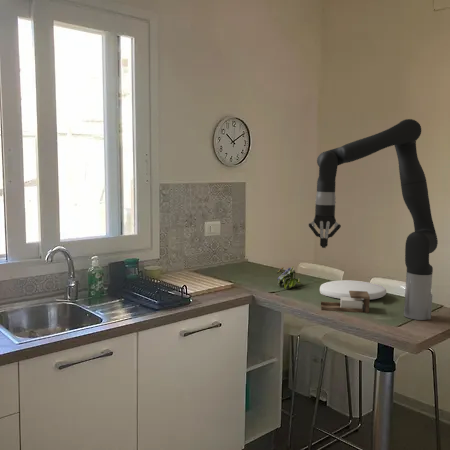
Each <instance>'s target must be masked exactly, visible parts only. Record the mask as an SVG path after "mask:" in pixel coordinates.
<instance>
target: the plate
mask: <svg viewBox="0 0 450 450" xmlns="http://www.w3.org/2000/svg"><path fill="white" fill-rule="evenodd" d="M349 291H366V292H368V294H369V296H370V300H376V299H380V298H383V297H384V296H386V294H387V288H386V287H385V286H383V285H380V284H377V283H373V282H368V281H361V280H350V279H344V280H333V281H327V282H324V283H322V284H320V286H319V293H320V295H322V296H326V297H329V298H333V299H334V298H335V299H340V300H341V297H351V296H350V293H349ZM362 301H364V299H362Z"/></svg>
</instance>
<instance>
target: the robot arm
mask: <svg viewBox="0 0 450 450" xmlns="http://www.w3.org/2000/svg"><path fill="white" fill-rule="evenodd" d="M421 134H422V126H421V124H420V123H419V121H417V120H415V119H412V118H406V119H403V120H401V121H400V122H398V123H396V124H395V125H392V126H391V127H389V128H387V129H385V130H382V131H380V132H378V133H375V134H371V135H370V136H367V137H364V138H360V139H357V140H354V141H352V142H349V143H345V144H344V145H342V146H339V147H335V148H332V149H329V150H326V151H325V150H324V151H323V152H321V153H319V155H318V156H317V159H316V163H317V166H318V178H317V181H316V195H315V207H314V208H315V213H314V218H313V221H311V222H309V223H308V227H309V229H310V230H311V232H312V233H313V234H314V235H315V236H316V238H319V246H320V247H321V248H322V249H326V248H327V247H328V246H329V245H328V242H329V241H328V240H329V238H333V236H334V235H335V234H336V233H337V232H338V231H339V230H340V228H341V224H340V223H338V222H337V220H336V203H337V202H336V198H337V197H336V177H337V172H338V166H341V165H343V164H346V163H351V162H352V163H353V162H354V161H358V160H361V159H363V158H366V157H368V156H371V155H373V154H375V153H377V152H379V151H381V150H384V149H386V148H389V147H392V146H394V149H395V152H396V156H397V161H398V172H399V181H400V187H401V188H400V189H401V193H402V194H401V195H402V198H403V201H404V204H405V206H406V208H407V209H408V211H409V213H410V215H411V217H412V220H413V222H412V223H413V227H414V231H412V232H411V233H410V234H408V235H407V237H406V240H405V244H404V245H405V249H404V254H405V255H404V261H405V266H406V275H405V277H406V278H405V289H404V290H405V293H404V308H403V316H404V317H406V318H407V319H411V320H416V321H426V320H432V308H433V307H432V306H433V294H432V284H433V272H434V271H433V270H434V269H433V266H432V265H431V264H430V254H431V253H434V252H435V251H436V249H437V248H438V244H439V243H438V235H437V232H436V229H435V225H434V221H433V216H432V209H431V203H430V198H429V197H430V196H429V190H428V181H427V178H426V174H425V172H424V169H423V167H422V165H421V162H420V161H419V160H420V159H419V157H418V153H417V152H418V151H417V140H418V139H419V138H420V136H421ZM315 227H317V228H318V229H319V232H318V231H317V229H316V228H315ZM332 227H334V228H333V229H332ZM330 229H332V231H330Z"/></svg>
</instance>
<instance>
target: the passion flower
mask: <svg viewBox="0 0 450 450" xmlns="http://www.w3.org/2000/svg"><path fill="white" fill-rule="evenodd" d="M278 269H279V270H277V272H276V274H279V273H281V274H280V275H279V276H278V277H277V278H276V279H277V281H278V283H277V286H278V287H281V286H282V285H283V284H284V285H283V286H284V287H283V288H284V290H287V289H291V288H294V287H296V288H297V287H298V286H297V284H300V285H301V284H302V283H301V281H300V279H301V277H298V278H296V270H295V268H294V266H291V267H288V269H285V270H284V271H283V269H284V267H281V268H278Z"/></svg>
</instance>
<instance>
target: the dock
mask: <svg viewBox="0 0 450 450" xmlns="http://www.w3.org/2000/svg"><path fill="white" fill-rule="evenodd" d="M349 293H350V296H351V298H360V299H364V300H363V303H362V309H357V308H340V302H337V301H336V302H335V301H320V310H321V311H330V312H341V313H342V312H343V313H344V312H345V313H346V312H347V313H360V314H361V313H363V314H369V313H370V296H369V294H368V292H366V291H349Z"/></svg>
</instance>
